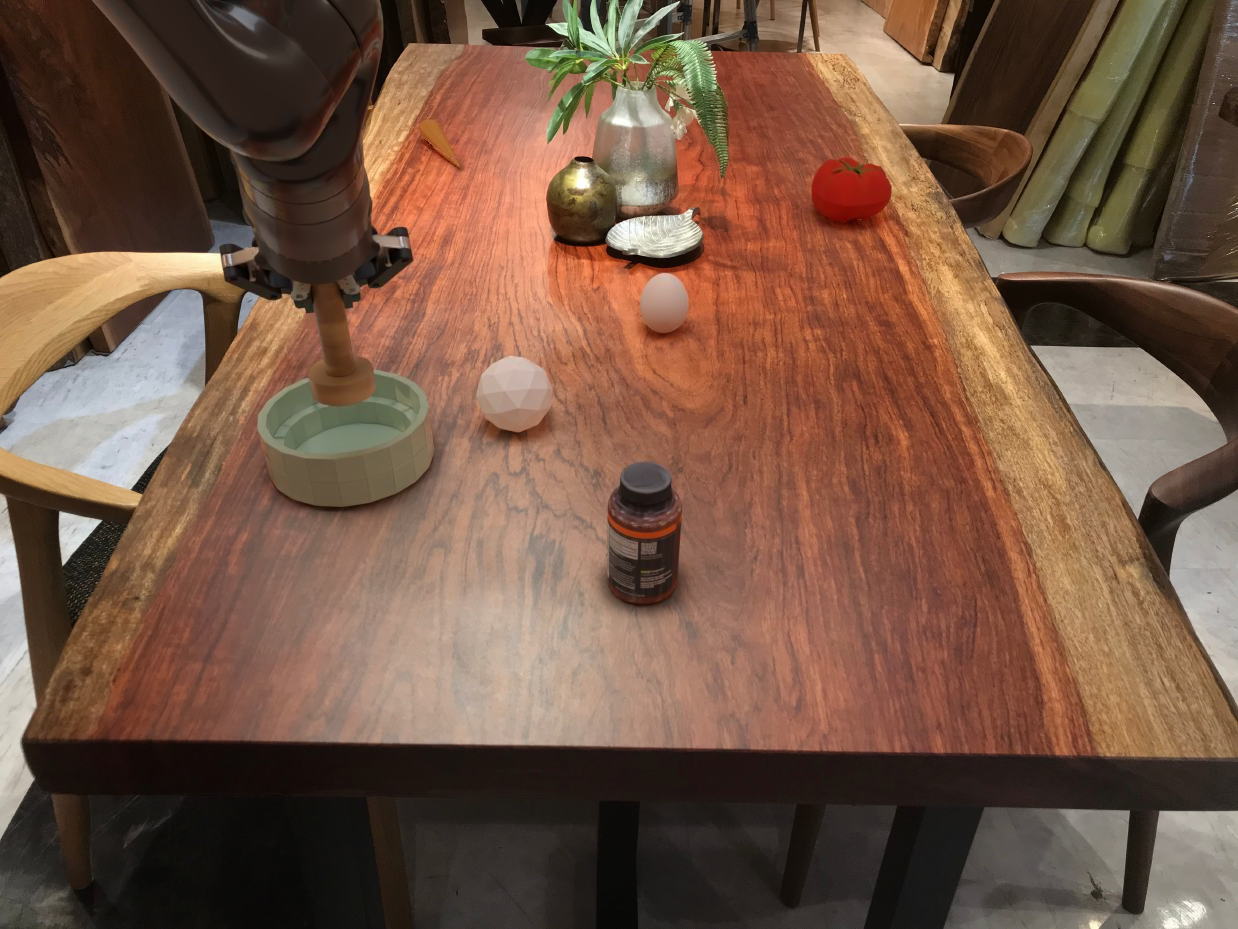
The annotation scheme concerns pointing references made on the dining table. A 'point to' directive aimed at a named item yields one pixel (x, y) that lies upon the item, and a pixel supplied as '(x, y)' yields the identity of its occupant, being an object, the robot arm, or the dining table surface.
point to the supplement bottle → (643, 534)
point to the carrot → (437, 138)
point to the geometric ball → (514, 393)
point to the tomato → (850, 190)
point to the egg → (664, 303)
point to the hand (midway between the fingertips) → (327, 299)
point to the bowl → (347, 442)
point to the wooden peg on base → (337, 353)
